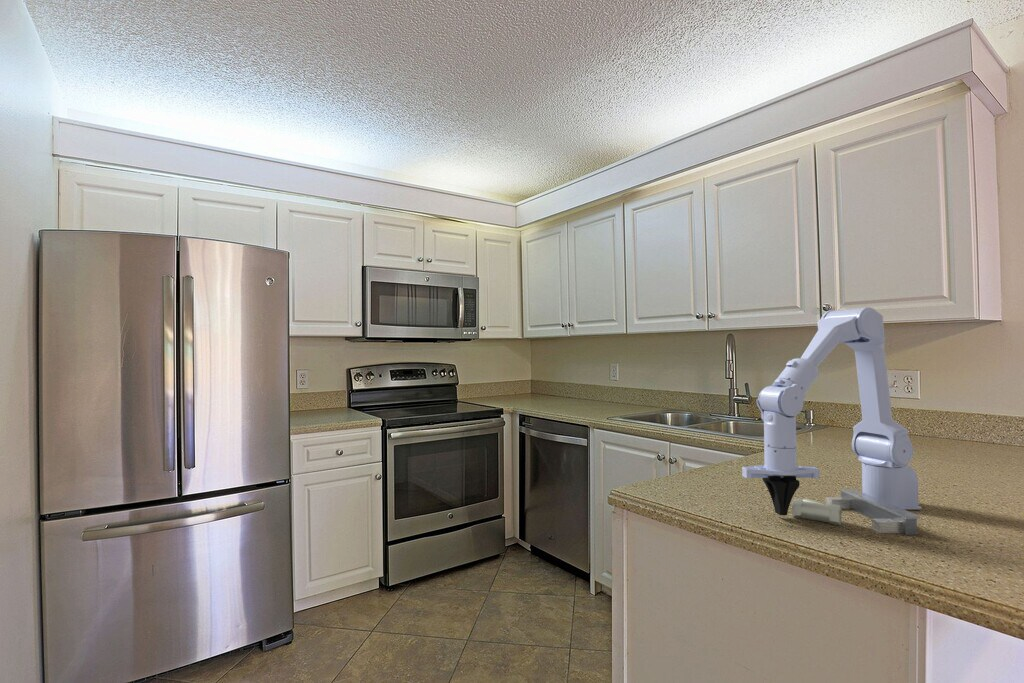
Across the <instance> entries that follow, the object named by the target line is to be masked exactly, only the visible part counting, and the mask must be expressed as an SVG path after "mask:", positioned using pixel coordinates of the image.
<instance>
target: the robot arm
mask: <svg viewBox="0 0 1024 683" xmlns="http://www.w3.org/2000/svg"><path fill="white" fill-rule="evenodd" d="M883 318H884V317H883V315H882V314H881V313H880V312H879V311H877V310H876V309H875V308H873V307H869V306H868V307H866V306H865V307H863V308H852V309H841V310H838V309H837V310H831V309H830V310H828V311H826V312H824V313H823V315H822V316H821V318H820V319H819V320H818V321H817V331H816V333H815V335H814V336H813V338H812V339H811V340H810V342H809V344H808V346H807V347H806V349H805V350H804V352H803V354H802V355H801V357H800V358H799V357H798V358H797V357H796V358H792V359H791V360H788V361H787V362H786V364H785V365H786V366H785V368H784V369H783V370H782V372H781V373H780V374H779V375H778V377H777V378H776V379H775V380H774V382H773V383H772V385H768V386H765V387H764V388H763V389H762V390H761V391H760V392H759V394H758V397H757V399H756V406H757V408H758V409H759V411H760V414H761V415H760V416H761V420H762V421H763V447H764V449H763V451H764V452H763V454H764V457H763V458H764V459H763V461H764V464H763V465H762V464H761V465H753V466H752V465H751V466H742V467H741V468H742V470H741V472H742V473H741V474H742V477H743V478H745V479H746V480H747V479H749V480H751V479H756V478H757V479H762V481H763V483H764V485H765V487H766V488H767V491H768V492H769V496H770V498H771V501H772V504H773V509H774V512H775V513H776V514H777V515H779V516H788V512H789V508H790V505H791V503H792V500H793V497H794V495H795V493H796V491H797V490H798V488H799V487H800V482H801V481H800V480H798V479H797V478H799V479H800V478H801V479H802V478H805V479H807V478H810V479H815V480H816V479H820V468H817V467H815V466H801V465H797V419H796V418H797V415H799V414H800V412H802V411H803V408H804V401H805V398H806V392H807V391H808V390H809V389H810V388H811V386H812V385H813V383H814V382H815V380H816V379H817V378H818V377H819V370H818V367H819V365H820V364H821V363H822V362H823V361H824V360H825V359H826V358H827V357H828V355H830V353H831V352H832V351H833V350H834V349H835V348H836V346H838V344H840V343H843V344H845V345H846V346H848V347H849V348H851V349H852V350H853V351H854V356H855V357H854V358H855V365H856V374H857V383H858V392H859V401H860V409H861V418H862V419H861V421H859V422H858V423H856V424H855V425H854V426H853V427H852V430H853V431H852V432H853V436H852V439H851V448H852V451H853V453H854V455H855V456H856V457H857V458H858V459H857V460H858V461H859V462H861V488H862V489H861V492H862V493H865V494H867V495H870V496H872V497H875V498H877V499H880V500H882V501H884V502H887V503H889V504H892V505H894V506H897V507H899V508H902V509H904V510H922V509H923V508H922V507H921V506H919V479H918V474H917V473H916V470H915V469H914V468H913V467H912V466H911V465H909V463H910V462H911V461H912V459H913V456H914V446H913V444H912V442H911V440H910V436H909V431H908V429H907V428H906V427H904V426H903V425H902V424H900V423H899V422H897V421H896V420H895V419H893V413H892V404H891V396H890V394H891V393H890V386H889V378H888V377H889V375H888V369H887V358H886V350H885V343H886V336H885V327H884V319H883Z"/></svg>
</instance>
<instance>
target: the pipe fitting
mask: <svg viewBox="0 0 1024 683" xmlns="http://www.w3.org/2000/svg"><path fill="white" fill-rule="evenodd" d="M791 503H792V504H791V514H792V517H793V518H797V519H806V520H812V521H817V522H824V523H828V524H831V525H835V526H840V525H841V523H842V509H841V507H840V506H839V505H834V504H831V505H826V503H822V502H819V501H817V500H814V499H811V498H806V497H805V498H802V499H801V498H792V502H791Z"/></svg>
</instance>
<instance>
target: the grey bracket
mask: <svg viewBox="0 0 1024 683" xmlns="http://www.w3.org/2000/svg"><path fill="white" fill-rule="evenodd" d="M825 504H826V505H831V504H834V505H839V506H840V507H841V510H852V511H854V512H856V513H857V514H860V515H862V516H864V517H867V519H870V520H871V528H872V529H871V530H872V531H874V532H877V533H878V534H902V535H904V536H917V535H918V522H917V520H920V519H921V516H920V515H918V514H916V513H914V512H911V511H910V510H907V509H902V508H899V507H897V506H894V505H892V504H889V503H887V502H884V501H882V500H880V499H877V498H875V497H872V496H870V495H867V494H865V493H862V491H860V490H857V489H855V488H840V496H826V497H825Z"/></svg>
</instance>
